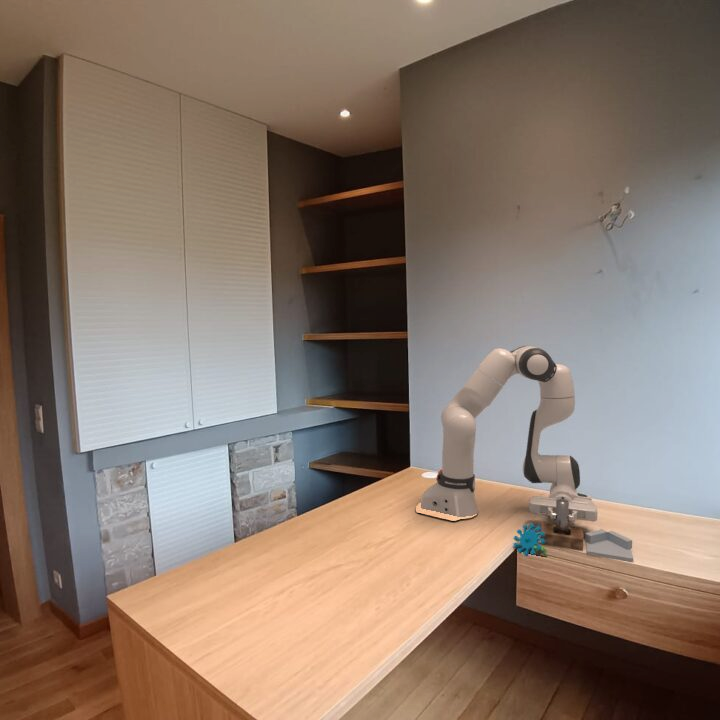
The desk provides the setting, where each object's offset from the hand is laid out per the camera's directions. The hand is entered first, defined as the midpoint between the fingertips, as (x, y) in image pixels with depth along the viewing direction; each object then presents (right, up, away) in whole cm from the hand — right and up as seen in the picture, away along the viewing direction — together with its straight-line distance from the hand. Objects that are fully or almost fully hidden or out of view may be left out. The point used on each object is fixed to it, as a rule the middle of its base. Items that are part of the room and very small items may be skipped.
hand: (562, 518), depth 149 cm
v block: (+12, -8, -4) cm, 15 cm away
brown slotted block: (+1, -8, +2) cm, 8 cm away
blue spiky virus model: (-12, -9, -5) cm, 15 cm away
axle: (+1, -8, +2) cm, 8 cm away
